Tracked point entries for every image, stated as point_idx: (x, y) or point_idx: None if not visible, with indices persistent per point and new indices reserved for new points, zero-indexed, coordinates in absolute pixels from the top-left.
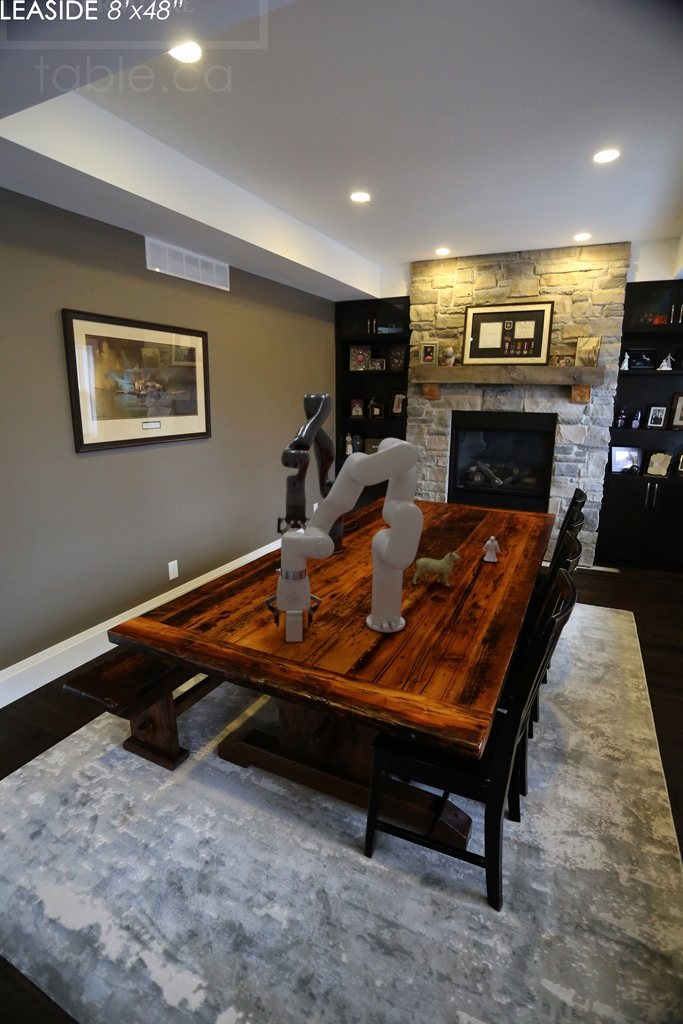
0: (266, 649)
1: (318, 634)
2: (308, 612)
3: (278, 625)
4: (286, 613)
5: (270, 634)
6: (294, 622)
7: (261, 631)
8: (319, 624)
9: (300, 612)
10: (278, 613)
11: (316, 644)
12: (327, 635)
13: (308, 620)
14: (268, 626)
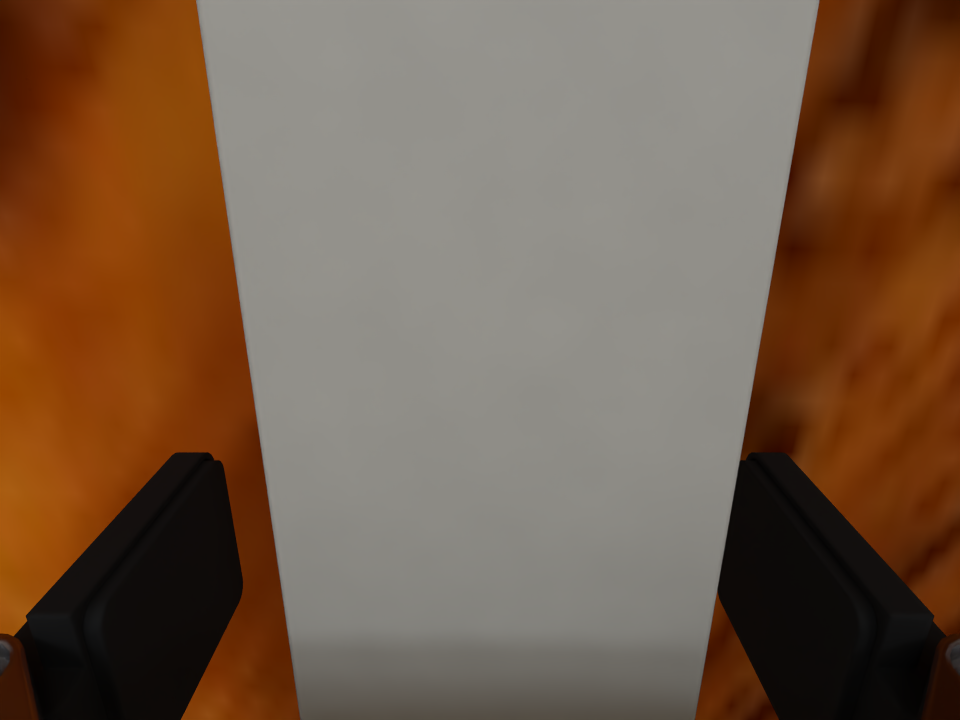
0: (207, 716)
1: (817, 456)
2: (860, 662)
3: (229, 611)
4: (305, 714)
5: (170, 429)
6: None
7: (19, 344)
8: (914, 148)
9: (656, 690)
10: (107, 698)
11: (741, 659)
12: (929, 485)
13: (771, 689)
14: (73, 188)
